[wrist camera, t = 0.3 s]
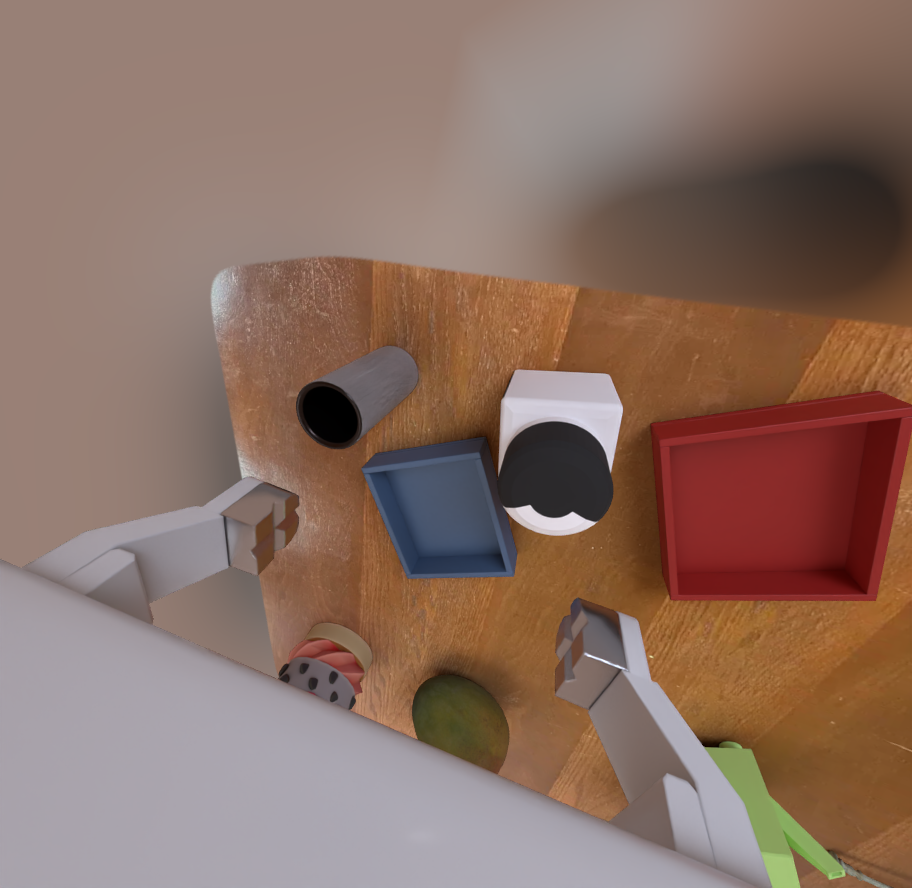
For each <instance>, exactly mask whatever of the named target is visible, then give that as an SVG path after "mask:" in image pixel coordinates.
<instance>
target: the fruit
mask: <svg viewBox="0 0 912 888" xmlns="http://www.w3.org/2000/svg"><path fill="white" fill-rule="evenodd" d="M412 716H413V723H414V728H415V732H416V735H417V738H418V740H419V741H422V742H424V743H426V744H429V745H431V746H433V747H436V748H438V749H440V750H442V751H445V752H447V753H449V754H452V755H454V756H456V757H459V758H461V759H463V760H465V761H468V762H470V763H472V764H475V765H477V766H479V767H482V768H484V769H486V770H488V771H491V772H493V773H495V774H498V772H499V770H500V768H501V767H502V765H503V763H504V761H505V758H506V754H507V750H508V745H509V727H508V723H507V720H506V717H505V715H504V713H503V711H502V709H501V707H500V706H499V704H498V703H497V702H496V700H495V699H494V698H493V697H492V696H491V695H490V694H489V693H488V692H487V691H486V690H485V689H483V688H482V687H481V686H479V685H478V684H476V683H474V682H472V681H470V680H468V679H465V678H463V677H460V676H455V675H440V676H435V677H432V678H430V679H428V680H427V681H425V682H424V683H423V684H421V686H420V687H419V688H418V690H417V692H416V694H415V697H414V700H413V706H412Z"/></svg>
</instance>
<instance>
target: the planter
mask: <svg viewBox="0 0 912 888" xmlns="http://www.w3.org/2000/svg"><path fill="white" fill-rule="evenodd" d="M417 382H418V369H417V366H416V363H415V361H414V360H413V358H412V357H411V356H410V355H409V354H408V353H407V352H406V351H405V350H403V349H401V348H399V347H396V346H385V347H381V348H379V349H377V350H375V351H373V352H371V353H369V354H367V355H365V356H363V357H361V358H359V359H357V360H355V361H353V362H351V363H349V364H347V365H345V366H343V367H341V368H339V369H337V370H335V371H333V372H331V373H329V374H327V375H325V376H323V377H321V378H318V379H316V380H315V381H313V382H311V383H309V384H307V385H306V386H304V387H303V388H302V390H301V391H300V392H299V394H298V397H297V401H296V411H297V416H298V419H299V422H300V424H301V426H302V427H303V429H304V430H305V432H306V433H307V434H308V435H309V436H310V437H311V438H312V439H313V440H314V441H316V442H317V443H319V444H321V445H322V446H325V447H327V448H331V449H345V448H348V447H350V446H352V445H354V444H355V443H356V442H357V441H358V440H359V439H361V438H362V437H363V436H364V435H365V434H366V433H367V432H368V431H369V430H370V429H372V428H373V427H374V426H375V425H376V424H377V423H378V422H379V421H380V420H382V419H383V418H384V417H385V416H386V415H387V414H388V413H389V412H390V411H392V410H393V409H394V408H395V407H396V406H397V405H398V404H399V403H400V402H402V401H403V400H404V399H405V398H406V397H407V396H408V395H409V394H410V393H411V392H412V391H413V390H414V388H415V387H416V385H417Z"/></svg>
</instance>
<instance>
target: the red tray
mask: <svg viewBox="0 0 912 888" xmlns="http://www.w3.org/2000/svg"><path fill="white" fill-rule="evenodd" d="M911 432H912V405H911V404H909V403H906V402H904V401H901V400H899V399H897V398H894V397H892V396H890V395H887V394H885V393H883V392H880V391H873V392H866V393H859V394H852V395H845V396H838V397H831V398H824V399H817V400H810V401H803V402H796V403H789V404H782V405H775V406H768V407H762V408H755V409H748V410H741V411H734V412H727V413H720V414H713V415H706V416H699V417H692V418H685V419H678V420H671V421H664V422H657V423H651V436H652V448H653V461H654V473H655V486H656V498H657V511H658V523H659V535H660V548H661V560H662V573H663V577H664V580H665V583H666V586H667V590H668V593H669V596H670V599H671V600H739V601H876V598H877V593H878V589H879V584H880V579H881V574H882V570H883V565H884V560H885V555H886V551H887V546H888V541H889V536H890V532H891V527H892V522H893V517H894V513H895V508H896V503H897V498H898V494H899V489H900V484H901V479H902V475H903V470H904V465H905V460H906V456H907V451H908V446H909V441H910V437H911Z"/></svg>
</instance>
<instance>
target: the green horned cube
mask: <svg viewBox="0 0 912 888" xmlns="http://www.w3.org/2000/svg"><path fill="white" fill-rule="evenodd" d="M704 748H705V750H706V751H707V752H708V754H709V755H710V756H711V758H712V759H713V761H714V762H715V763H716V765H717V766H718V768H719V769H720V770H721V772H722V773H723V774H724V776H725V777H726V779H727V780H728V781H729V783H730V784H731V786H732V787H733V788H734V790H735V791H736V792H737V794H738V795H739V797H740V798H741V799H742V801H743V802H744V804H745V807H746V810H747V813H748V816H749V819H750V822H751V825H752V828H753V831H754V834H755V837H756V840H757V843H758V846H759V849H760V852H761V855H762V858H763V861H764V864H765V867H766V869H767V872H768V875H769V878H770V881H771V884H772V887H773V888H800V884H799V880H798V876H797V872H796V868H795V864H794V860H793V856H792V853H791V850H790V848H789V846H790V847H791V848H793V849H794V850H795V851H796V852H798V853H799V854H800V855H801V856H803V857H804V858H805V859H806V860H808V861H809V862H810V863H811V864H813V865H814V866H815V867H816V868H818V869H819V870H820V871H821V872H823V873H824V874H825V875H826V876H827V877H828V878H829V879H834V878H838V877H843V876H845V870H844V869H843V867H842V866H841V865H840V864H839V863H838V862H837V861H836V860H835V859H834V858H833V857H832V856H831V855H830V854H829V853H828V852H827V851H826V850H825V849H824V848H823V847H822V846H821V845H820V844H819V843H818V842H817V841H816V840H814V839H813V838H812V837H811V836H810V835H809V834H808V833H807V832H806V831H805V830H804V829H803V828H802V827H801V826H800V825H799V824H798V823H797V822H796V821H795V820H794V819H793V818H792V817H791V816H790V815H789V814H788V813H787V812H786V811H785V810H784V809H783V808H782V807H781V806H780V805H779V804H778V803H777V802H776V801H775V800H774V799H772V798H771V797H770V796H769V794H768V791H767V788H766V786H765V783H764V781H763V778H762V775H761V773H760V770H759V768H758V765H757V763H756V760H755V757H754V755H753V752H752V750H751V749H742V747H741V745H739V744H737V743H735V742H722V743H720V744H719V748H711V747H704Z"/></svg>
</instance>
